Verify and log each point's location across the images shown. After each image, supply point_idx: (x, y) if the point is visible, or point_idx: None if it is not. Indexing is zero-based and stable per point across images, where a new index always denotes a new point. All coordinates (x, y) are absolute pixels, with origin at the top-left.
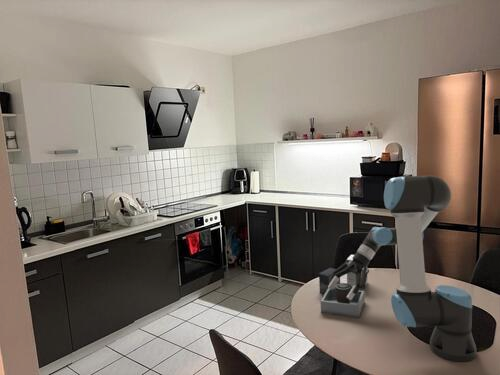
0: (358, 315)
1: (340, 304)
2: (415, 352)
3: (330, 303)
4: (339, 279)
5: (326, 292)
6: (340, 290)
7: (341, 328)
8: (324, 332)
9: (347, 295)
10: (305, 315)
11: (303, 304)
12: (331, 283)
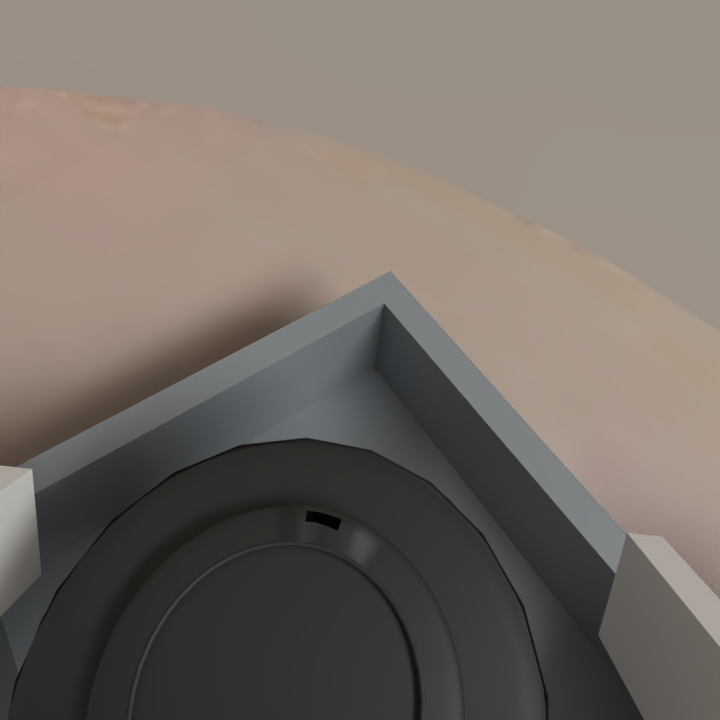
0: None
1: (149, 406)
2: None
3: (278, 338)
4: None
5: (602, 525)
6: (197, 462)
7: (33, 289)
8: (114, 175)
9: (2, 488)
10: (414, 230)
11: (620, 338)
12: (694, 620)
